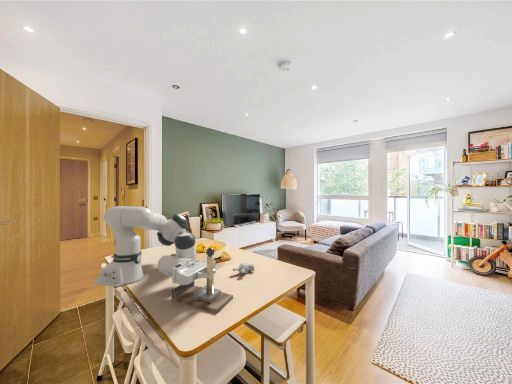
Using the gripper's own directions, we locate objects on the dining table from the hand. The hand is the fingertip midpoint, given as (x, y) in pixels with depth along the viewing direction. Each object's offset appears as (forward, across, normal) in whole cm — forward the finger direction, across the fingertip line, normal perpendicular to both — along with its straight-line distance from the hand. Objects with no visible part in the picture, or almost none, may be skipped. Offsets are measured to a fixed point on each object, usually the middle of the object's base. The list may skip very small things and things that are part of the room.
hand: (211, 273), depth 87 cm
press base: (-5, 0, -12) cm, 13 cm away
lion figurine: (-47, -28, -12) cm, 56 cm away
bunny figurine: (-1, -34, -12) cm, 36 cm away
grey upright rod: (-2, 0, -10) cm, 10 cm away
